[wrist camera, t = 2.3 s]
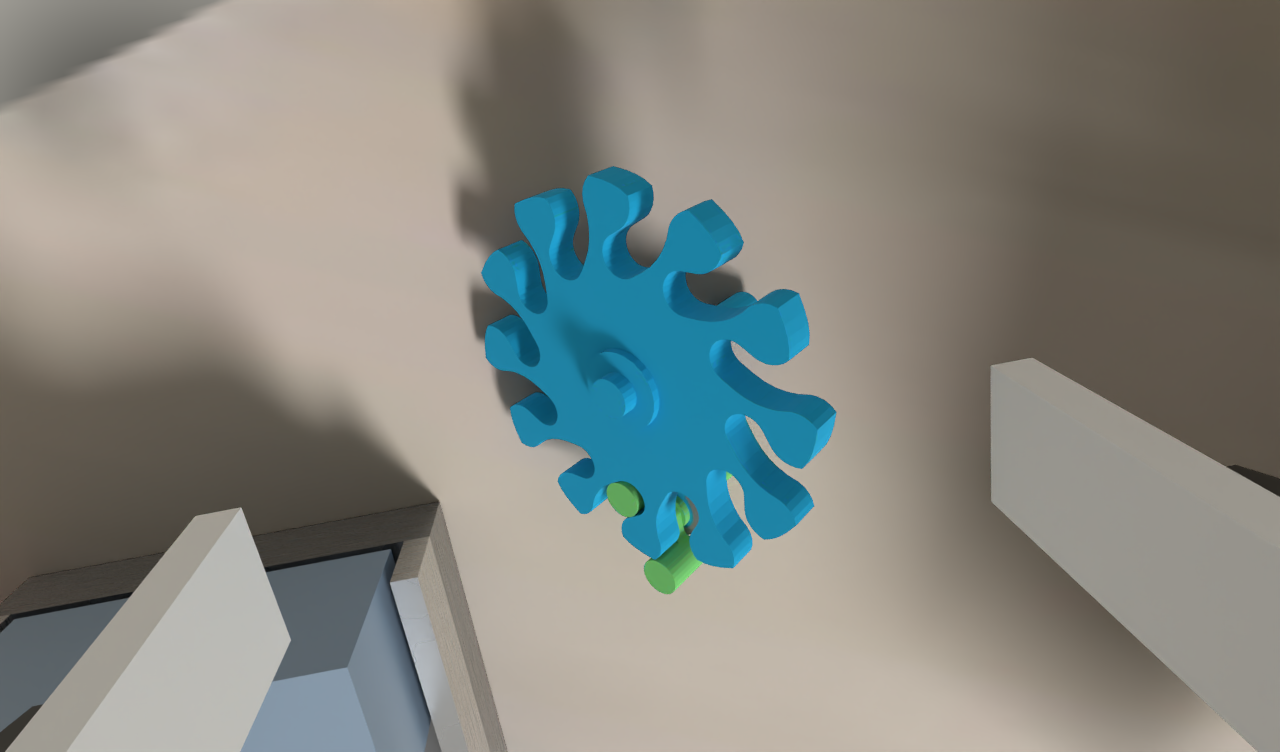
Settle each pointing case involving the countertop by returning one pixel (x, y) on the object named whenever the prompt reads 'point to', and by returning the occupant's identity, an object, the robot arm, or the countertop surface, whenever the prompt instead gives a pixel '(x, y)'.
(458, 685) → the frame
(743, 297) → the gear
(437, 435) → the countertop surface
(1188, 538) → the robot arm
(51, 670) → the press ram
